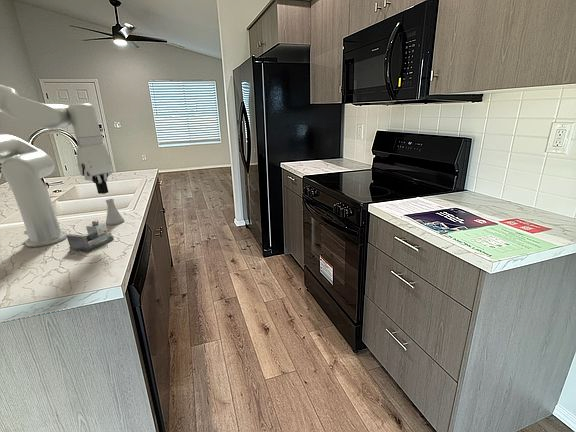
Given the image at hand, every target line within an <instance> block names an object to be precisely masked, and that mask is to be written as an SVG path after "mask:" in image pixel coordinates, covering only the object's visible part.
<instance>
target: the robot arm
mask: <svg viewBox="0 0 576 432" xmlns="http://www.w3.org/2000/svg"><path fill="white" fill-rule="evenodd" d="M0 113H2V114H5V115H6V116H8V117H10V118H11V119H14V120H16V121H18V122H21V123H24V124H28V125H29V126H34V127H37V128H42V129H46V130H54V129H55V130H56V129H64V128H65V129H66V128H71V127H72V128H73V132H74V136H75V139H76V144H77V147H76V149H75V152H76V153H75V154H76V160H77V161H76V162H77V166H78V170H79V173H80V175H81V176H82V177H84V180H85V181H91V182H92V183H94V184H95V186H96V189H97V193H98V194H99V195H105V194H108V193H109V188H108V185H107V182H108V177H109V176H111V175H112V174H113V172H112V171H113V165H112V160H111V157H110V154H109V151H108V149H107V146H106V145H105V144H104V140H105V139H104V137H103V136H102V133H101V130H100V129H101V128H100V125H99V121H98V117H97V112H96V109H95V106H94V105H93V104H91V103H73V104H72V103H71V104H61V103H43V102H39V101H35V100H32V99H29V98H26V97H23V96H21V95H19V93H18V91H17V90H16V89H15V88H12V87H11V86H6V85H3V84H0ZM0 164H2V165H1V172H2V175H3V177H4V179H5V180H6V182H7V184H8V186H9V187H10V189H11V191H12V195H13V196H14V199H15V202H16V203H17V204H16V205H17V207H18V210H19V213H20V216H21V219H22V221H23V224H24V227H25V229H26V230H24V232H23V234H24V235H27V236H28V237H27V239H26V240H25V241H24V242H25V246H26V247H30V248H38V247H39V248H40V247H44V246H49V245H52V244H53V245H54V244H56V243H59V242H61V241H63V240H65V239H66V238H67V236H66V235H68V233H67V232H66V231H64V230H61V227H60V223H59V221H58V218H57V213H56V211H55V208H54V205H53V202H52V198H51V195H50V192H49V190H48V187H47V186H46V185H45V183H44V182H43V180H42V179H43V178H45V177H47V176H49V175H52V173H53V172H54V171H55V169H56V168H55V161H54V159H53V158H52V156H50V155H49V154H48V153H46V152H44V151H43V150H42V149H40V148H37V147H35V146H34V145H32V144H31V143H29V142H27V141H25V140H23V139H21V138H19V137H17V136H14V135H11V134H7V133H0Z"/></svg>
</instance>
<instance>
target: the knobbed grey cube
mask: <svg viewBox="0 0 576 432" xmlns="http://www.w3.org/2000/svg"><path fill="white" fill-rule="evenodd" d="M85 228H86V231H87V235H89V239H95V238H98V237H100V236H102V235H104V234H106V233H108V232H109V231H108V228H107V224H106V222H99V220H92V221H91V224H88V225H86V226H85Z"/></svg>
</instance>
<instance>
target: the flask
mask: <svg viewBox="0 0 576 432" xmlns="http://www.w3.org/2000/svg"><path fill="white" fill-rule="evenodd" d="M105 203H106V206H107V207H106V208H107V210H106V218H105V219H106V220H105V223H106V226H114V225H118V224H120V223H123V222H125V219H124V217H123V216H122V214H121V213H120V211H119V210H118V208H117V206H116V204H115V199H114V198H108V199H105Z"/></svg>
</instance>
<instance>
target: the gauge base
mask: <svg viewBox="0 0 576 432" xmlns="http://www.w3.org/2000/svg"><path fill="white" fill-rule="evenodd" d="M66 236H67V237H66V238H67V242H68V245H69V247H68V248H69V251H73V252H80V251H81V253H90V252H93V251H95V249H98V248H99V247H102V246H104V245H106V244H107V243H110V242H111V241H114V239H115V238H114V236H113V235H112V231H108V233H106V234H104V235H102V236H100V237H98V238H95V239H89V235H88V234H85V235H82V234H72V233H69V234H67V235H66Z"/></svg>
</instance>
